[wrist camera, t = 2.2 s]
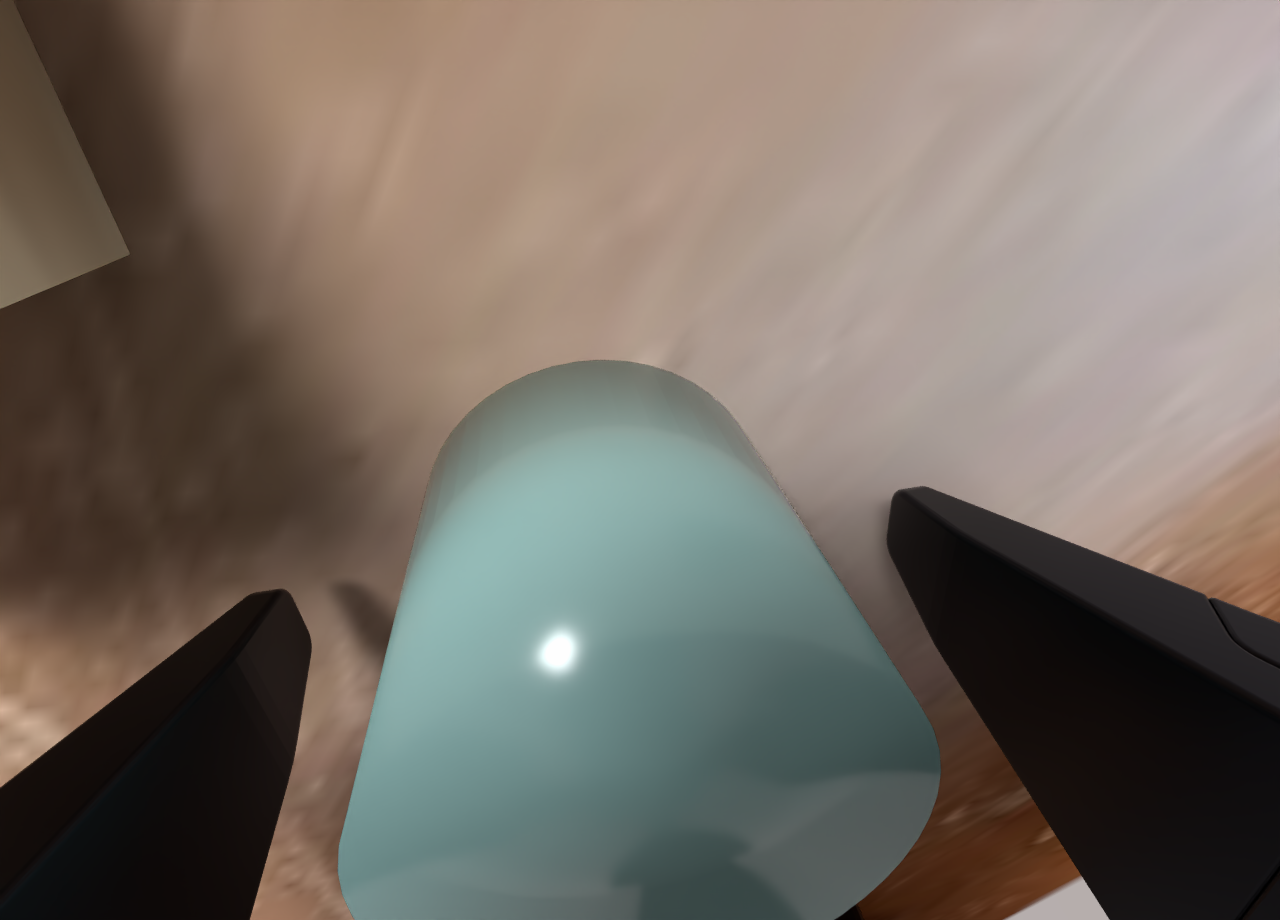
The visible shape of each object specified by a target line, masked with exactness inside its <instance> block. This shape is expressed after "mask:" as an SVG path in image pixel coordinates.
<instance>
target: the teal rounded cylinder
mask: <svg viewBox="0 0 1280 920" xmlns="http://www.w3.org/2000/svg"><path fill="white" fill-rule="evenodd" d="M940 776H941V765H940V750H939V746H938V743H937V740H936V736H935V733H934V729H933V727H932V725H931V724H930V722H929V720H928V718H927V716H926V715H925V713H924V711H923V709H922V708H921V706H920V705H919V703H918V701H917V700H916V698H915V697H914V695H913V694H912V692H911V691H910V689H909V687H908V686H907V684H906V683H905V681H904V680H903V678H902V677H901V675H900V673H899V672H898V670H897V669H896V667H895V666H894V664H893V663H892V661H891V659H890V658H889V656H888V655H887V653H886V652H885V650H884V649H883V647H882V645H881V644H880V642H879V641H878V639H877V638H876V636H875V635H874V633H873V632H872V630H871V628H870V627H869V625H868V624H867V622H866V621H865V619H864V618H863V616H862V614H861V613H860V611H859V610H858V608H857V607H856V605H855V604H854V602H853V600H852V599H851V597H850V596H849V594H848V593H847V591H846V590H845V588H844V586H843V585H842V583H841V582H840V580H839V579H838V577H837V576H836V574H835V572H834V571H833V569H832V568H831V566H830V565H829V563H828V562H827V560H826V559H825V557H824V555H823V554H822V552H821V551H820V549H819V548H818V546H817V545H816V543H815V541H814V540H813V538H812V537H811V535H810V534H809V532H808V531H807V529H806V527H805V526H804V524H803V523H802V521H801V520H800V518H799V517H798V515H797V513H796V512H795V510H794V509H793V507H792V506H791V504H790V503H789V501H788V499H787V498H786V496H785V495H784V493H783V492H782V490H781V489H780V487H779V486H778V484H777V482H776V481H775V479H774V478H773V476H772V475H771V473H770V472H769V470H768V468H767V467H766V465H765V464H764V462H763V461H762V459H761V458H760V456H759V454H758V453H757V451H756V450H755V448H754V447H753V445H752V444H751V442H750V440H749V439H748V437H747V436H746V434H745V433H744V431H743V430H742V428H741V426H740V425H739V423H738V422H737V421H736V420H735V418H734V417H733V416H732V415H731V414H730V412H729V411H728V410H727V409H726V408H725V407H724V406H723V405H722V404H721V403H720V402H719V401H718V400H716V399H715V398H714V397H713V396H712V395H711V394H709V393H708V392H706V391H705V390H703V389H702V388H700V387H699V386H697V385H696V384H694V383H693V382H691V381H689V380H687V379H685V378H683V377H680V376H678V375H676V374H674V373H672V372H669V371H666V370H663V369H660V368H656V367H653V366H650V365H645V364H639V363H634V362H628V361H614V360H593V361H579V362H573V363H568V364H563V365H557V366H552V367H549V368H546V369H543V370H540V371H537V372H534V373H531V374H528V375H526V376H524V377H522V378H520V379H518V380H516V381H513V382H511V383H509V384H507V385H505V386H504V387H502V388H501V389H499V390H498V391H496V392H495V393H493V394H491V395H490V396H488V397H487V398H485V399H484V400H483V401H482V402H481V403H479V404H478V405H477V406H476V407H475V408H474V409H472V410H471V411H470V412H469V413H468V414H467V415H466V416H465V417H464V418H463V419H462V421H461V422H460V423H459V424H458V425H457V426H456V427H455V428H454V430H453V431H452V432H451V434H450V435H449V437H448V438H447V440H446V442H445V443H444V445H443V446H442V448H441V449H440V452H439V454H438V456H437V458H436V460H435V462H434V465H433V467H432V470H431V473H430V477H429V481H428V484H427V488H426V492H425V496H424V500H423V504H422V508H421V512H420V517H419V521H418V525H417V529H416V533H415V537H414V541H413V545H412V549H411V553H410V557H409V561H408V566H407V570H406V574H405V578H404V582H403V586H402V590H401V594H400V598H399V602H398V606H397V611H396V615H395V619H394V623H393V627H392V631H391V635H390V639H389V643H388V647H387V651H386V655H385V660H384V664H383V668H382V672H381V676H380V680H379V684H378V688H377V692H376V696H375V700H374V705H373V709H372V713H371V717H370V721H369V725H368V729H367V733H366V737H365V741H364V745H363V749H362V754H361V758H360V762H359V766H358V770H357V774H356V778H355V782H354V786H353V790H352V794H351V799H350V803H349V807H348V811H347V815H346V819H345V823H344V827H343V831H342V835H341V839H340V843H339V856H338V875H339V880H340V885H341V890H342V895H343V897H344V899H345V902H346V904H347V906H348V908H349V910H350V912H351V915H352V917H353V918H354V919H355V920H834V919H836V918H838V917H839V916H841V915H842V914H844V913H845V912H846V911H848V910H849V909H850V908H852V907H853V906H854V905H856V904H857V903H858V902H859V901H861V900H862V899H863V898H865V897H866V896H867V895H868V894H869V893H870V892H871V891H873V890H874V889H875V888H876V887H877V886H878V885H879V884H880V883H881V882H883V881H884V880H885V879H886V878H887V877H888V876H889V874H890V873H891V872H892V871H893V870H894V869H895V868H896V867H897V866H898V865H899V864H900V862H901V861H902V860H903V859H904V858H905V856H906V855H907V854H908V852H909V851H910V849H911V848H912V847H913V845H914V844H915V843H916V841H917V840H918V838H919V836H920V835H921V833H922V831H923V829H924V827H925V825H926V823H927V822H928V820H929V818H930V815H931V812H932V810H933V807H934V804H935V801H936V798H937V795H938V789H939V782H940Z"/></svg>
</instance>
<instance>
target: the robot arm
mask: <svg viewBox="0 0 1280 920" xmlns="http://www.w3.org/2000/svg"><path fill="white" fill-rule="evenodd" d="M887 547H888V551H889V554H890V556H891V558H892V560H893V562H894V564H895V566H896V568H897V570H898V572H899V574H900V576H901V578H902V580H903V582H904V584H905V586H906V588H907V590H908V592H909V595H910V597H911V599H912V601H913V603H914V605H915V607H916V609H917V611H918V613H919V615H920V617H921V619H922V621H923V623H924V625H925V627H926V629H927V631H928V633H929V635H930V637H931V638H932V640H933V642H934V644H935V646H936V647H937V649H938V651H939V652H940V654H941V656H942V657H943V659H944V661H945V662H946V664H947V665H948V667H949V668H950V670H951V672H952V673H953V675H954V676H955V678H956V679H957V681H958V683H959V684H960V686H961V687H962V689H963V690H964V692H965V694H966V695H967V697H968V698H969V700H970V701H971V703H972V705H973V706H974V708H975V709H976V711H977V712H978V714H979V716H980V717H981V719H982V720H983V722H984V723H985V725H986V726H987V728H988V730H989V731H990V733H991V734H992V736H993V737H994V739H995V741H996V742H997V744H998V745H999V747H1000V748H1001V750H1002V752H1003V753H1004V755H1005V756H1006V758H1007V759H1008V761H1009V763H1010V764H1011V766H1012V767H1013V769H1014V770H1015V772H1016V774H1017V775H1018V777H1019V778H1020V780H1021V781H1022V783H1023V785H1024V786H1025V788H1026V789H1027V791H1028V792H1029V794H1030V796H1031V797H1032V799H1033V800H1034V802H1035V803H1036V805H1037V806H1038V808H1039V810H1040V811H1041V813H1042V814H1043V816H1044V817H1045V819H1046V821H1047V822H1048V824H1049V825H1050V827H1051V828H1052V830H1053V832H1054V833H1055V835H1056V836H1057V838H1058V839H1059V841H1060V843H1061V844H1062V846H1063V847H1064V849H1065V850H1066V852H1067V854H1068V855H1069V857H1070V858H1071V860H1072V861H1073V863H1074V865H1075V866H1076V868H1077V869H1078V871H1079V872H1080V874H1081V876H1082V877H1083V879H1084V880H1085V882H1086V883H1087V885H1088V886H1089V888H1090V890H1091V891H1092V893H1093V894H1094V896H1095V897H1096V899H1097V900H1098V902H1099V904H1100V905H1101V907H1102V908H1103V910H1104V912H1105V913H1106V915H1107V916H1108V918H1109V919H1110V920H1280V623H1279V622H1276V621H1273V620H1271V619H1268V618H1265V617H1263V616H1260V615H1257V614H1255V613H1252V612H1249V611H1247V610H1244V609H1242V608H1239V607H1237V606H1234V605H1231V604H1229V603H1226V602H1224V601H1221V600H1219V599H1216V598H1209V599H1208V598H1207V597H1206V595H1205V594H1203V593H1200V592H1198V591H1195V590H1192V589H1190V588H1187V587H1185V586H1182V585H1179V584H1177V583H1174V582H1172V581H1169V580H1167V579H1164V578H1161V577H1159V576H1156V575H1154V574H1151V573H1148V572H1146V571H1143V570H1141V569H1138V568H1135V567H1133V566H1130V565H1128V564H1125V563H1123V562H1120V561H1117V560H1115V559H1112V558H1110V557H1107V556H1104V555H1102V554H1099V553H1097V552H1094V551H1091V550H1089V549H1086V548H1084V547H1081V546H1079V545H1076V544H1073V543H1071V542H1068V541H1066V540H1063V539H1060V538H1058V537H1055V536H1053V535H1050V534H1047V533H1045V532H1042V531H1040V530H1037V529H1035V528H1032V527H1029V526H1027V525H1024V524H1022V523H1019V522H1016V521H1014V520H1011V519H1009V518H1006V517H1004V516H1001V515H998V514H996V513H993V512H991V511H988V510H985V509H983V508H980V507H978V506H975V505H973V504H970V503H967V502H965V501H962V500H960V499H957V498H954V497H952V496H949V495H947V494H944V493H942V492H939V491H936V490H934V489H931V488H929V487H925V486H920V487H914V488H907V489H901V490H898V491H897V492H896V493H895V494H894V495H893V497H892V501H891V509H890V516H889V523H888V530H887ZM311 651H312V644H311V638H310V634H309V631H308V629H307V627H306V625H305V623H304V621H303V619H302V616H301V614H300V612H299V610H298V608H297V606H296V604H295V602H294V599H293V597H292V596H291V594H290V593H289V592H288V591H286V590H284V589H275V590H269V591H262V592H256V593H252V594H250V595H248V596H247V597H245V598H244V599H243V600H242V601H240V602H239V603H238V604H236V605H235V606H234V607H233V608H231V609H230V610H229V611H227V612H226V613H225V614H224V615H222V616H221V617H220V618H218V619H217V620H216V621H214V622H213V623H212V624H211V625H209V626H208V627H207V628H205V629H204V630H203V631H202V632H200V633H199V634H198V635H196V636H195V637H194V638H193V639H191V640H190V641H189V642H187V643H186V644H185V645H184V646H182V647H181V648H180V649H178V650H177V651H176V652H174V653H173V654H172V655H171V656H169V657H168V658H167V659H165V660H164V661H163V662H162V663H160V664H159V665H158V666H156V667H155V668H154V669H153V670H151V671H150V672H149V673H147V674H146V675H145V676H144V677H142V678H141V679H140V680H138V681H137V682H136V683H134V684H133V685H132V686H131V687H129V688H128V689H127V690H125V691H124V692H123V693H122V694H120V695H119V696H118V697H116V698H115V699H114V700H113V701H111V702H110V703H109V704H107V705H106V706H105V707H103V708H102V709H101V710H100V711H98V712H97V713H96V714H94V715H93V716H92V717H91V718H89V719H88V720H87V721H85V722H84V723H83V724H82V725H80V726H79V727H78V728H76V729H75V730H74V731H73V732H71V733H70V734H69V735H67V736H66V737H65V738H63V739H62V740H61V741H60V742H58V743H57V744H56V745H54V746H53V747H52V748H51V749H49V750H48V751H47V752H45V753H44V754H43V755H42V756H40V757H39V758H38V759H36V760H35V761H34V762H33V763H31V764H30V765H29V766H27V767H26V768H25V769H23V770H22V771H21V772H20V773H18V774H17V775H16V776H14V777H13V778H12V779H11V780H9V781H8V782H7V783H5V784H4V785H3V786H2V787H0V920H250V917H251V913H252V910H253V906H254V903H255V899H256V896H257V892H258V888H259V885H260V881H261V878H262V874H263V871H264V867H265V863H266V860H267V856H268V853H269V849H270V846H271V842H272V838H273V835H274V831H275V828H276V824H277V821H278V817H279V813H280V810H281V806H282V803H283V799H284V796H285V792H286V788H287V785H288V781H289V777H290V773H291V769H292V765H293V761H294V756H295V751H296V746H297V740H298V734H299V727H300V721H301V715H302V708H303V702H304V696H305V690H306V683H307V677H308V671H309V665H310V658H311ZM834 920H864V918H863V916H862V913H861V911H860V909H859V907H858V906H857V905H854V906H853V907H852V908H850V909H849V910H848V911H846V912H845V913H844V914H842V915H841V916H839V917H838V918H836V919H834Z"/></svg>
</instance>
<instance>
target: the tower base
mask: <svg viewBox="0 0 1280 920" xmlns="http://www.w3.org/2000/svg"><path fill="white" fill-rule="evenodd" d="M128 255H130V253H129V250H128V248H127V246H126V244H125V242H124V240H123V237H122V235H121V233H120V231H119V229H118V227H117V224H116V222H115V220H114V218H113V216H112V214H111V211H110V209H109V207H108V205H107V203H106V201H105V198H104V196H103V194H102V192H101V190H100V188H99V185H98V183H97V181H96V179H95V177H94V175H93V172H92V170H91V168H90V166H89V164H88V162H87V159H86V157H85V155H84V153H83V151H82V149H81V146H80V144H79V142H78V140H77V138H76V136H75V133H74V131H73V129H72V127H71V125H70V123H69V120H68V118H67V116H66V114H65V112H64V110H63V107H62V105H61V103H60V101H59V99H58V97H57V94H56V92H55V90H54V88H53V86H52V84H51V81H50V79H49V77H48V75H47V73H46V71H45V68H44V66H43V64H42V62H41V60H40V58H39V55H38V53H37V51H36V49H35V47H34V45H33V42H32V40H31V38H30V36H29V34H28V32H27V29H26V27H25V25H24V23H23V21H22V19H21V16H20V14H19V12H18V10H17V8H16V6H15V3H14V1H13V0H0V309H1V308H4V307H6V306H9V305H11V304H13V303H16V302H18V301H20V300H23V299H25V298H28V297H30V296H32V295H35V294H37V293H40V292H42V291H44V290H47V289H49V288H52V287H54V286H56V285H59V284H61V283H63V282H66V281H68V280H71V279H73V278H75V277H78V276H80V275H83V274H85V273H87V272H90V271H92V270H95V269H97V268H99V267H102V266H104V265H106V264H109V263H111V262H114V261H116V260H118V259H121V258H123V257H126V256H128Z"/></svg>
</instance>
